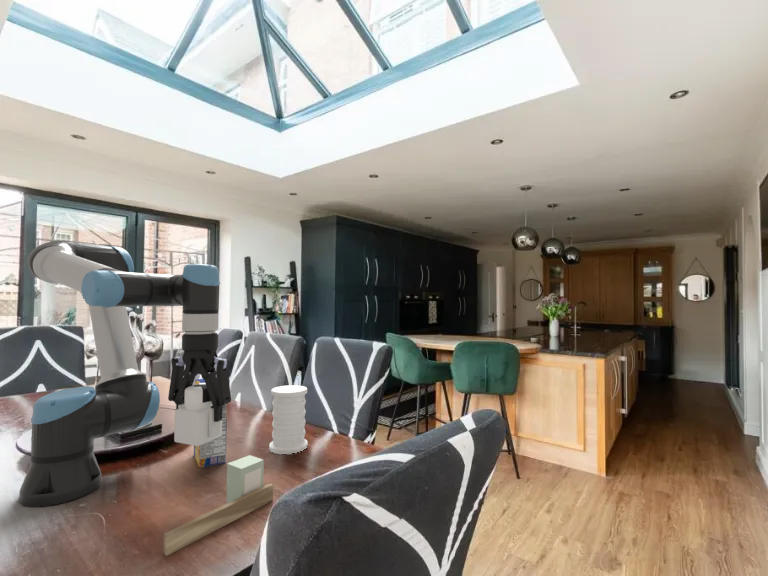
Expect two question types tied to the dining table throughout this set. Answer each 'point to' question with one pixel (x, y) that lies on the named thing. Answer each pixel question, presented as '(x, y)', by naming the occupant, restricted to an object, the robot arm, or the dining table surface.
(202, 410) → the medicine bottle
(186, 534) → the rail
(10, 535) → the dining table surface
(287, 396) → the decorative container
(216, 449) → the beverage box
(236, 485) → the sage carton
